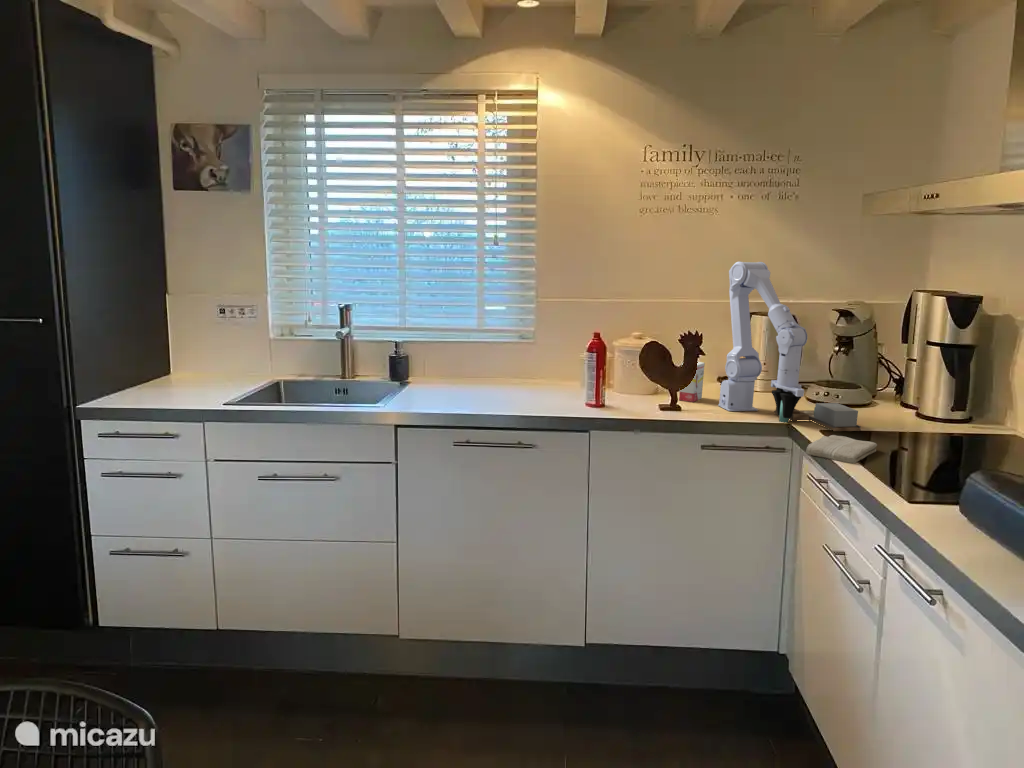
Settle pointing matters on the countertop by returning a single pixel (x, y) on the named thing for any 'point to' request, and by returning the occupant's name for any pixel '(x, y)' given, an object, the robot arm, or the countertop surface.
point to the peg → (782, 414)
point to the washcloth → (841, 448)
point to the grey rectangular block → (836, 414)
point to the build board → (797, 415)
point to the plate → (811, 417)
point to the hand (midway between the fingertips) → (784, 416)
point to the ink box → (694, 386)
